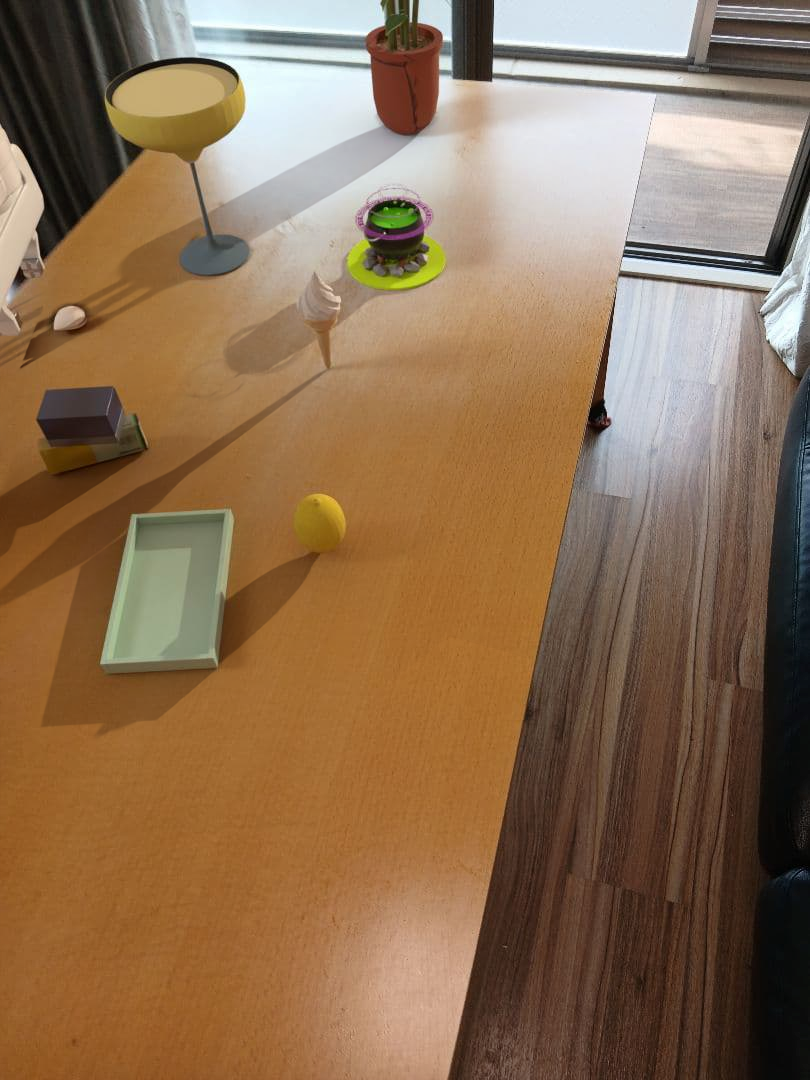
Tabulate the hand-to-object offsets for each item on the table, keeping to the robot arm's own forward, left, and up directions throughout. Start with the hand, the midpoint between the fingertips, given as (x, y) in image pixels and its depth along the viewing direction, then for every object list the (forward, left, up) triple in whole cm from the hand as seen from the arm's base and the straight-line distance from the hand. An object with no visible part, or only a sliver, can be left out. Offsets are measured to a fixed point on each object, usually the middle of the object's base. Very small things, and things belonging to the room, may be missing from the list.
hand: (25, 301), depth 82 cm
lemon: (+28, -16, -23) cm, 40 cm away
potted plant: (+43, +78, -23) cm, 92 cm away
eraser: (0, 0, -18) cm, 18 cm away
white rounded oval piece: (-9, +26, -23) cm, 36 cm away
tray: (+12, -21, -23) cm, 33 cm away
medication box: (0, 0, -23) cm, 23 cm away
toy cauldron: (+38, +38, -23) cm, 58 cm away
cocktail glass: (+10, +42, -23) cm, 49 cm away
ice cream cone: (+28, +14, -23) cm, 39 cm away
